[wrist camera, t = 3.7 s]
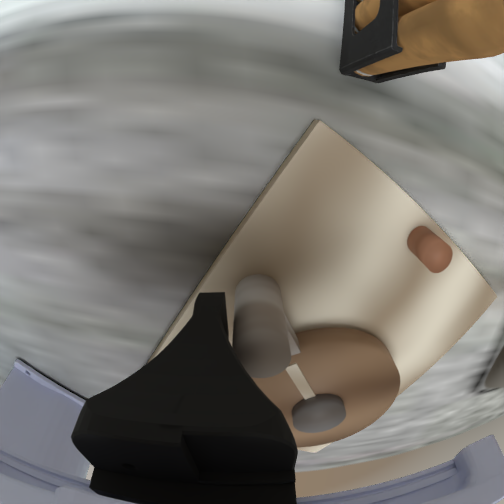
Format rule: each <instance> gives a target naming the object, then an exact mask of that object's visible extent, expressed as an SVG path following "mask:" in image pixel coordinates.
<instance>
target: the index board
mask: <svg viewBox="0 0 504 504" xmlns="http://www.w3.org/2000/svg"><path fill="white" fill-rule="evenodd" d="M255 274H262V275H267V276H269V277H271V278H273V279H274V280H275V281H276V282H277V283H278V285H279V287H280V291H281V296H282V302H283V308H284V313H285V315H286V317H287V319H288V321H289V323H290V324H291V326H292V328H293V330H294V332H295V333H297V332H301V331H306V330H311V329H318V328H332V327H336V328H349V329H355V330H359V331H362V332H366V333H368V334H370V335H372V336H374V337H376V338H377V339H379V340H380V341H381V342H382V343H383V344H384V345H385V346H386V347H387V349H388V350H389V352H390V354H391V356H392V358H393V360H394V362H395V365H396V367H397V369H398V371H399V374H400V388H399V391H398V394H397V396H398V395H399V394H401V393H402V392H403V391H404V390H406V389H407V388H408V387H409V386H410V385H411V384H413V383H414V382H415V381H416V380H417V379H418V378H420V377H421V376H422V375H423V374H424V373H425V372H426V371H427V370H429V369H430V368H431V367H432V366H433V365H434V364H435V363H436V362H437V361H438V360H439V359H440V358H441V357H442V356H443V355H444V354H445V353H447V352H448V351H449V350H450V349H451V348H452V347H453V346H454V345H455V344H456V342H457V341H458V340H459V339H460V338H461V337H462V336H463V335H464V334H465V333H466V332H467V331H468V330H469V329H470V328H471V327H472V325H473V324H474V323H475V322H476V321H477V320H478V319H479V318H480V316H481V315H482V314H483V313H484V312H485V311H486V310H487V308H488V307H489V306H490V305H491V304H492V302H493V301H494V300H495V299H496V297H497V295H496V294H495V293H494V291H493V290H492V289H491V287H490V286H489V285H488V283H487V282H486V281H485V280H484V278H483V277H482V276H481V274H480V273H479V272H478V271H477V269H476V268H475V267H474V266H473V265H472V263H471V262H470V261H469V260H468V259H467V257H466V256H465V255H464V254H463V253H462V252H461V250H460V249H459V248H458V247H457V246H456V245H455V244H454V242H453V241H452V240H451V239H450V238H449V237H448V236H447V235H446V233H445V232H444V231H443V230H442V229H441V228H440V227H439V226H438V225H437V224H436V223H435V222H434V221H433V220H432V219H431V218H430V216H429V215H428V214H427V213H426V212H425V211H424V210H423V209H422V208H421V207H420V206H419V205H418V204H417V203H416V202H415V201H414V200H413V199H412V198H411V197H410V196H408V195H407V194H406V193H405V192H404V191H403V190H402V189H401V188H400V187H399V186H398V185H397V184H396V183H395V182H394V181H393V180H391V179H390V178H389V177H388V176H387V175H386V174H385V173H384V172H383V171H381V170H380V169H379V168H378V167H377V166H376V165H375V164H374V163H372V162H371V161H370V160H369V159H368V158H367V157H365V156H364V155H363V154H362V153H361V152H359V151H358V150H357V149H356V148H355V147H353V146H352V145H351V144H350V143H348V142H347V141H346V140H345V139H343V138H342V137H341V136H340V135H338V134H337V133H336V132H334V131H333V130H332V129H331V128H329V127H328V126H327V125H325V124H324V123H323V122H321V121H320V120H314V121H313V122H312V124H311V125H310V126H309V128H308V129H307V130H306V132H305V133H304V135H303V136H302V137H301V139H300V140H299V141H298V143H297V144H296V146H295V147H294V148H293V150H292V151H291V152H290V154H289V155H288V157H287V158H286V159H285V161H284V162H283V164H282V165H281V166H280V168H279V169H278V171H277V172H276V173H275V175H274V176H273V178H272V179H271V180H270V182H269V183H268V185H267V186H266V187H265V189H264V190H263V192H262V193H261V195H260V196H259V197H258V199H257V200H256V202H255V203H254V205H253V206H252V207H251V209H250V210H249V212H248V213H247V215H246V216H245V217H244V219H243V220H242V222H241V223H240V225H239V226H238V228H237V229H236V230H235V232H234V233H233V235H232V236H231V238H230V239H229V241H228V242H227V243H226V245H225V246H224V248H223V249H222V251H221V252H220V254H219V255H218V257H217V258H216V260H215V261H214V263H213V264H212V265H211V267H210V268H209V270H208V271H207V273H206V274H205V276H204V277H203V279H202V280H201V282H200V283H199V285H198V286H197V288H196V289H195V291H194V292H193V294H192V295H191V297H190V298H189V300H188V301H187V303H186V304H185V306H184V307H183V309H182V310H181V312H180V313H179V315H178V316H177V318H176V319H175V321H174V322H173V324H172V325H171V327H170V328H169V330H168V331H167V333H166V335H165V336H164V338H163V339H162V341H161V342H160V344H159V345H158V347H157V348H156V350H155V351H154V353H153V355H152V356H151V358H150V359H149V361H148V362H147V363H149V362H150V361H151V360H152V359H153V358H155V357H156V356H157V355H158V354H159V353H160V352H161V351H162V350H163V349H164V348H165V347H166V346H167V345H168V344H169V343H170V342H171V341H172V340H173V339H174V338H175V336H176V335H177V334H178V333H179V332H180V331H181V330H182V328H183V327H184V326H185V325H186V323H187V322H188V321H189V319H190V318H191V317H192V315H193V310H194V304H195V301H196V298H197V296H198V294H199V293H204V292H225V298H226V309H227V320H228V330H229V342H230V344H231V346H232V341H233V322H234V303H235V290H236V287H237V285H238V283H239V282H240V281H241V280H242V279H244V278H245V277H247V276H250V275H255ZM397 396H396V397H397ZM331 443H332V442H331ZM331 443H327V444H323V445H318V446H311V447H298V448H297V450H302V451H307V452H312V453H316V452H317V451H319V450H321V449H322V448H324V447H326V446H327V445H329V444H331Z"/></svg>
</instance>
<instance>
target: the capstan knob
mask: <svg viewBox="0 0 504 504" xmlns="http://www.w3.org/2000/svg"><path fill="white" fill-rule="evenodd" d="M232 348H233V350H234V352H235V354H236V355H237V357H238V359H239V360H240V362H241V364H242V365H243V367H244V368H245V370H246V371H247V373H248V374H249V375H250V377H251V378H252V379H253V381H254V382H255V383H256V385H257V386H258V387H259V388H260V389H261V390H262V392H263V393H264V394H265V395H266V396H267V397H268V398H269V399H270V400H271V401H272V402H273V403H274V404H275V405H276V406H277V407H278V408H279V409H280V410H281V411H282V413H283V415H284V417H285V419H286V421H287V423H288V425H289V427H290V429H291V431H292V433H293V436H294V439H295V442H296V445H297V448H298V447H311V446H318V445H323V444H327V443H331V442H335V441H338V440H341V439H343V438H346V437H348V436H351V435H353V434H355V433H357V432H359V431H361V430H363V429H364V428H366V427H368V426H369V425H371V424H372V423H373V422H375V421H376V420H377V419H379V418H380V417H381V416H382V415H383V414H384V413H385V412H386V411H387V410H388V409H389V407H390V406H391V405H392V403H393V402H394V400H395V398H396V396H397V394H398V391H399V388H400V374H399V371H398V369H397V367H396V365H395V362H394V360H393V358H392V356H391V354H390V352H389V350H388V349H387V347H386V346H385V345H384V344H383V343H382V342H381V341H380V340H379V339H377V338H376V337H374V336H372V335H370V334H368V333H366V332H362V331H359V330H355V329H349V328H336V327H332V328H318V329H311V330H306V331H301V332H297V333H295V332H294V330H293V328H292V326H291V324H290V323H289V321H288V319H287V317H286V315H285V313H284V308H283V302H282V296H281V291H280V287H279V285H278V283H277V282H276V281H275V280H274V279H273V278H271V277H269V276H267V275H262V274H255V275H250V276H247V277H245V278H244V279H242V280H241V281H240V282H239V283H238V285H237V287H236V290H235V303H234V322H233V341H232Z"/></svg>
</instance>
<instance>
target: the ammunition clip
mask: <svg viewBox="0 0 504 504" xmlns="http://www.w3.org/2000/svg"><path fill="white" fill-rule="evenodd" d="M502 53H504V0H345V12H344V26H343V38H342V49H341V59H340V71H341V73H342V74H344V75H349V76H353V77H357V78H361V79H365V80H369V81H372V82H376V83H381V82H384V81H388V80H392V79H397V78H401V77H405V76H410V75H414V74H419V73H424V72H429V71H434V70H441V69H445V67H446V62H451V61H459V60H468V59H479V58H486V57H493V56H496V55H499V54H502Z"/></svg>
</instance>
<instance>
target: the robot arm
mask: <svg viewBox="0 0 504 504" xmlns="http://www.w3.org/2000/svg"><path fill="white" fill-rule="evenodd" d="M297 454H298V450H297V445H296V442H295V439H294V436H293V433H292V431H291V429H290V427H289V425H288V423H287V421H286V419H285V417H284V415H283V413H282V411H281V410H280V409H279V408H278V407H277V406H276V405H275V404H274V403H273V402H272V401H271V400H270V399H269V398H268V397H267V396H266V395H265V394H264V393H263V392H262V390H261V389H260V388H259V387H258V386H257V385H256V383H255V382H254V381H253V379H252V378H251V377H250V375H249V374H248V373H247V371H246V370H245V368H244V367H243V365H242V364H241V362H240V360H239V359H238V357H237V355H236V354H235V352H234V350H233V348H232V346H231V344H230V342H229V330H228V320H227V309H226V298H225V292H204V293H199V294H198V296H197V298H196V301H195V304H194V310H193V315H192V317H191V318H190V319H189V321H188V322H187V323H186V325H185V326H184V327H183V328H182V330H181V331H180V332H179V333H178V334H177V335H176V336H175V338H174V339H173V340H172V341H171V342H170V343H169V344H168V345H167V346H166V347H165V348H164V349H163V350H162V351H161V352H160V353H159V354H158V355H157V356H156V357H155V358H153V359H152V360H151V361H150V362H149V363H147V364H146V365H145V366H143V367H142V368H141V369H140V370H138V371H137V372H135V373H134V374H132V375H131V376H129V377H128V378H126V379H125V380H123V381H122V382H120V383H118V384H117V385H115V386H113V387H111V388H109V389H107V390H105V391H103V392H101V393H99V394H97V395H95V396H93V397H91V398H89V399H87V400H84V399H82V398H80V397H78V396H77V395H75V394H73V393H71V392H69V391H68V390H66V389H64V388H63V387H61V386H59V385H58V384H56V383H54V382H53V381H51V380H49V379H48V378H46V377H45V376H43V375H41V374H40V373H38V372H37V371H35V370H34V369H32V368H31V367H29V366H28V365H26V364H25V363H24V362H22V361H21V360H19V359H16V360H15V362H14V367H13V369H12V370H11V372H10V374H9V375H8V377H7V378H6V380H5V382H4V383H3V385H2V387H1V388H0V504H496V503H498V502H499V501H500V500H502V499H504V456H503V454H502V451H501V449H500V447H499V445H498V443H497V441H496V439H495V437H494V435H489V436H487V437H485V438H483V439H481V440H479V441H476V442H475V443H472V444H470V445H468V446H466V447H465V448H464V449H462V450H461V451H460V452H459V453H458V454H457V455H456V456H455V458H454V459H452V460H450V461H447V462H445V463H442V464H440V465H437V466H434V467H432V468H429V469H426V470H423V471H420V472H417V473H415V474H411V475H408V476H405V477H401V478H398V479H395V480H391V481H387V482H383V483H379V484H375V485H371V486H367V487H363V488H358V489H353V490H348V491H342V492H337V493H331V494H324V495H317V496H309V497H300V498H296V491H295V470H294V467H295V463H296V459H297ZM90 463H91V464H92V465H93V466H94V471H93V475H92V478H91V481H90V480H87V479H86V475H87V472H88V468H89V465H90Z"/></svg>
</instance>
